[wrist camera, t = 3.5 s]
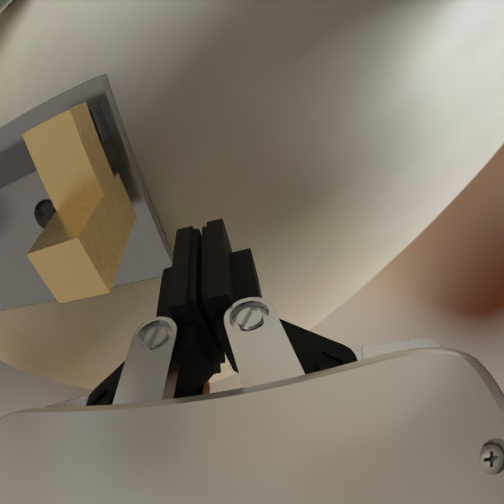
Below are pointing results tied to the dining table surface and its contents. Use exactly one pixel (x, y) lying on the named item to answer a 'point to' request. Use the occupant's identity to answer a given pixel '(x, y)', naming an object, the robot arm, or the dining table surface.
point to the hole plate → (42, 209)
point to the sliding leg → (78, 207)
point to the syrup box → (4, 4)
